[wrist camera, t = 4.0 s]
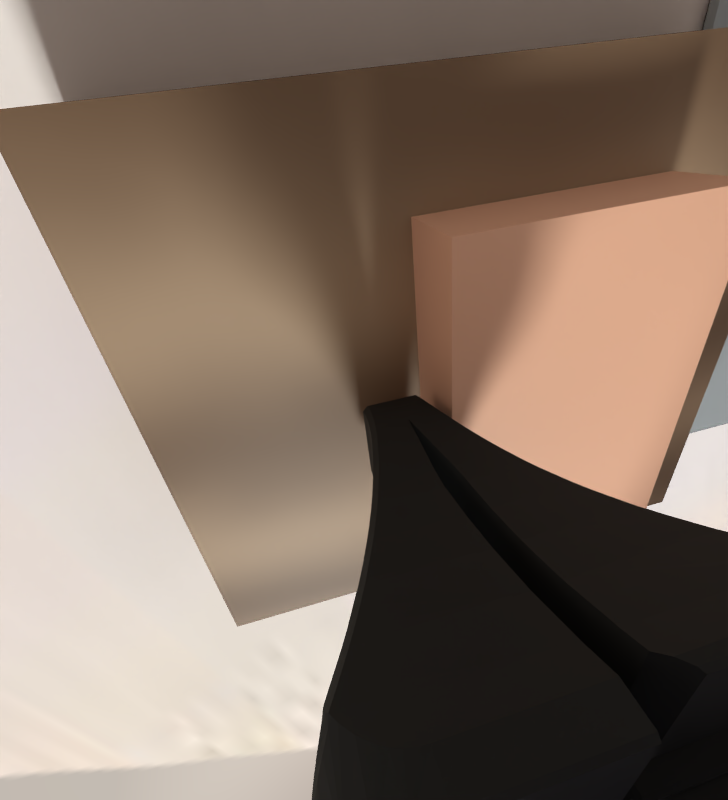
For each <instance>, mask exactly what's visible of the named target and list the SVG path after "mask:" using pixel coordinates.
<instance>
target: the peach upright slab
mask: <svg viewBox="0 0 728 800" xmlns="http://www.w3.org/2000/svg"><path fill="white" fill-rule="evenodd" d="M411 226H412V246H413V265H414V284H415V303H416V323H417V342H418V361H419V381H420V398H422V399H423V400H425V401H426V402H428V403H429V404H431V405H432V406H434V407H435V408H437V409H438V410H440V411H441V412H443V413H444V414H446V415H447V416H449V417H450V418H452V419H453V420H455V421H457V422H458V423H460V424H461V425H463V426H464V427H466V428H468V429H469V430H471V431H473V432H474V433H476V434H478V435H479V436H481V437H483V438H484V439H486V440H488V441H490V442H491V443H493V444H495V445H497V446H498V447H500V448H502V449H504V450H506V451H508V452H510V453H512V454H514V455H515V456H517V457H519V458H521V459H523V460H525V461H527V462H529V463H531V464H533V465H535V466H537V467H540V468H542V469H544V470H546V471H549V472H551V473H553V474H555V475H558V476H560V477H562V478H565V479H567V480H569V481H571V482H574V483H576V484H579V485H581V486H584V487H586V488H589V489H591V490H594V491H597V492H600V493H602V494H605V495H608V496H611V497H614V498H616V499H619V500H622V501H625V502H627V503H630V504H633V505H636V506H639V507H642V508H647V505H648V502H649V499H650V496H651V494H652V491H653V488H654V485H655V482H656V480H657V477H658V474H659V471H660V468H661V466H662V463H663V460H664V457H665V455H666V452H667V449H668V446H669V443H670V441H671V438H672V435H673V432H674V429H675V427H676V424H677V421H678V418H679V416H680V413H681V410H682V407H683V404H684V402H685V399H686V396H687V393H688V390H689V388H690V385H691V382H692V379H693V377H694V374H695V371H696V368H697V365H698V363H699V360H700V357H701V354H702V351H703V349H704V346H705V343H706V340H707V338H708V335H709V332H710V329H711V326H712V324H713V321H714V318H715V315H716V312H717V310H718V307H719V304H720V301H721V298H722V296H723V293H724V290H725V287H726V285H727V282H728V176H723V175H712V174H701V173H690V172H679V171H669V172H663V173H657V174H652V175H646V176H640V177H635V178H629V179H623V180H618V181H612V182H606V183H601V184H595V185H589V186H584V187H578V188H572V189H566V190H561V191H555V192H549V193H544V194H538V195H532V196H527V197H521V198H515V199H510V200H504V201H498V202H493V203H487V204H481V205H476V206H470V207H464V208H459V209H453V210H447V211H442V212H436V213H430V214H425V215H419V216H413V217H411Z"/></svg>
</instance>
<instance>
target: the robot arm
mask: <svg viewBox="0 0 728 800" xmlns="http://www.w3.org/2000/svg"><path fill="white" fill-rule="evenodd" d="M363 415H364V422H365V429H366V437H367V444H368V451H369V458H370V465H371V471H372V474H373V489H372V504H371V514H370V523H369V530H368V537H367V543H366V549H365V554H364V560H363V566H362V571H361V575H360V580H359V585H358V589H357V593H356V597H355V601H354V605H353V609H352V612H351V616H350V620H349V624H348V628H347V632H346V636H345V639H344V643H343V646H342V649H341V652H340V655H339V659H338V662H337V665H336V668H335V671H334V674H333V678H332V681H331V684H330V687H329V690H328V693H327V696H326V700H325V703H324V707H323V715H322V724H321V731H320V737H319V744H318V750H317V758H316V767H315V773H314V782H313V792H312V800H728V532H726V531H721V530H717V529H714V528H710V527H706V526H703V525H699V524H696V523H692V522H689V521H685V520H682V519H678V518H675V517H671V516H668V515H665V514H661V513H658V512H655V511H652V510H649V509H646V508H642V507H639V506H636V505H633V504H630V503H627V502H625V501H622V500H619V499H616V498H614V497H611V496H608V495H605V494H602V493H600V492H597V491H594V490H591V489H589V488H586V487H584V486H581V485H579V484H576V483H574V482H571V481H569V480H567V479H565V478H562V477H560V476H558V475H555V474H553V473H551V472H549V471H546V470H544V469H542V468H540V467H537V466H535V465H533V464H531V463H529V462H527V461H525V460H523V459H521V458H519V457H517V456H515V455H514V454H512V453H510V452H508V451H506V450H504V449H502V448H500V447H498V446H497V445H495V444H493V443H491V442H490V441H488V440H486V439H484V438H483V437H481V436H479V435H478V434H476V433H474V432H473V431H471V430H469V429H468V428H466V427H464V426H463V425H461V424H460V423H458V422H457V421H455V420H453V419H452V418H450V417H449V416H447V415H446V414H444V413H443V412H441V411H440V410H438V409H437V408H435V407H434V406H432V405H431V404H429V403H428V402H426V401H425V400H423V399H422V398H420V397H418V396H417V395H413V396H409V397H404V398H400V399H396V400H391V401H387V402H383V403H379V404H374V405H370V406H367V407H366V408H365V410H364V411H363Z"/></svg>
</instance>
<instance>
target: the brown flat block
mask: <svg viewBox="0 0 728 800" xmlns="http://www.w3.org/2000/svg"><path fill="white" fill-rule="evenodd" d="M0 152H1V154H2V156H3V158H4V160H5V162H6V164H7V166H8V168H9V170H10V172H11V174H12V176H13V178H14V180H15V182H16V184H17V186H18V188H19V190H20V192H21V194H22V196H23V198H24V200H25V202H26V204H27V206H28V208H29V210H30V212H31V214H32V216H33V218H34V220H35V222H36V224H37V226H38V228H39V230H40V232H41V234H42V236H43V238H44V240H45V242H46V244H47V246H48V248H49V250H50V252H51V254H52V256H53V258H54V260H55V262H56V264H57V266H58V268H59V270H60V272H61V274H62V276H63V278H64V280H65V282H66V284H67V286H68V288H69V290H70V292H71V294H72V296H73V298H74V300H75V302H76V304H77V306H78V308H79V310H80V312H81V314H82V316H83V318H84V320H85V322H86V324H87V326H88V328H89V330H90V332H91V334H92V336H93V338H94V340H95V342H96V344H97V346H98V348H99V350H100V352H101V354H102V356H103V358H104V360H105V362H106V364H107V366H108V368H109V370H110V372H111V374H112V376H113V378H114V380H115V382H116V384H117V386H118V388H119V390H120V392H121V394H122V396H123V398H124V400H125V402H126V404H127V406H128V408H129V410H130V412H131V414H132V416H133V418H134V420H135V422H136V424H137V426H138V428H139V430H140V432H141V434H142V436H143V438H144V440H145V442H146V444H147V446H148V448H149V450H150V452H151V454H152V456H153V458H154V460H155V462H156V464H157V466H158V468H159V470H160V472H161V474H162V476H163V478H164V480H165V482H166V484H167V486H168V488H169V490H170V492H171V494H172V496H173V498H174V500H175V502H176V504H177V506H178V508H179V510H180V512H181V514H182V516H183V518H184V520H185V522H186V524H187V526H188V528H189V530H190V532H191V534H192V536H193V538H194V540H195V542H196V544H197V546H198V548H199V550H200V552H201V554H202V556H203V558H204V560H205V562H206V564H207V566H208V568H209V570H210V572H211V574H212V576H213V578H214V580H215V582H216V584H217V586H218V588H219V590H220V592H221V594H222V596H223V599H224V601H225V603H226V605H227V607H228V609H229V611H230V613H231V615H232V617H233V619H234V621H235V623H236V625H237V627H238V626H241V625H244V624H248V623H251V622H255V621H258V620H261V619H265V618H268V617H272V616H275V615H278V614H282V613H285V612H289V611H292V610H295V609H299V608H302V607H306V606H309V605H312V604H316V603H319V602H323V601H326V600H329V599H333V598H336V597H340V596H343V595H346V594H350V593H353V592H357V589H358V585H359V580H360V575H361V571H362V566H363V560H364V554H365V549H366V543H367V537H368V530H369V523H370V514H371V504H372V489H373V474H372V471H371V465H370V458H369V451H368V444H367V437H366V429H365V422H364V415H363V411H364V410H365V408H366V407H367V406H370V405H374V404H379V403H383V402H387V401H391V400H396V399H400V398H404V397H409V396H413V395H417V396H418V397H420V381H419V361H418V342H417V323H416V303H415V284H414V265H413V246H412V226H411V217H413V216H419V215H425V214H430V213H436V212H442V211H447V210H453V209H459V208H464V207H470V206H476V205H481V204H487V203H493V202H498V201H504V200H510V199H515V198H521V197H527V196H532V195H538V194H544V193H549V192H555V191H561V190H566V189H572V188H578V187H584V186H589V185H595V184H601V183H606V182H612V181H618V180H623V179H629V178H635V177H640V176H646V175H652V174H657V173H663V172H669V171H679V172H690V173H701V174H712V175H723V176H728V27H726V28H717V29H708V30H699V31H690V32H681V33H673V34H664V35H655V36H646V37H637V38H628V39H619V40H610V41H602V42H593V43H584V44H575V45H566V46H557V47H548V48H539V49H531V50H522V51H513V52H504V53H495V54H486V55H477V56H468V57H460V58H451V59H442V60H433V61H424V62H415V63H406V64H397V65H389V66H380V67H371V68H362V69H353V70H344V71H335V72H326V73H317V74H309V75H300V76H291V77H282V78H273V79H264V80H255V81H246V82H238V83H229V84H220V85H211V86H202V87H193V88H184V89H175V90H167V91H158V92H149V93H140V94H131V95H122V96H113V97H104V98H96V99H87V100H78V101H69V102H60V103H51V104H42V105H33V106H25V107H16V108H7V109H0ZM727 336H728V282H727V285H726V287H725V290H724V293H723V296H722V298H721V301H720V304H719V307H718V310H717V312H716V315H715V318H714V321H713V324H712V326H711V329H710V332H709V335H708V338H707V340H706V343H705V346H704V349H703V351H702V354H701V357H700V360H699V363H698V365H697V368H696V371H695V374H694V377H693V379H692V382H691V385H690V388H689V390H688V393H687V396H686V399H685V402H684V404H683V407H682V410H681V413H680V416H679V418H678V421H677V424H676V427H675V429H674V432H673V435H672V438H671V441H670V443H669V446H668V449H667V452H666V455H665V457H664V460H663V463H662V466H661V468H660V471H659V474H658V477H657V480H656V482H655V485H654V488H653V491H652V494H651V496H650V499H649V502H648V505H647V506H649V505H652V504H656V503H659V502H662V501H663V498H664V496H665V493H666V491H667V488H668V486H669V483H670V481H671V478H672V476H673V473H674V470H675V468H676V465H677V463H678V460H679V458H680V455H681V453H682V450H683V448H684V445H685V443H686V440H687V437H688V435H689V432H690V430H691V427H692V425H693V422H694V420H695V417H696V415H697V412H698V410H699V407H700V404H701V402H702V399H703V397H704V394H705V392H706V389H707V387H708V384H709V382H710V379H711V377H712V374H713V371H714V369H715V366H716V364H717V361H718V359H719V356H720V354H721V351H722V349H723V346H724V344H725V341H726V338H727Z"/></svg>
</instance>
